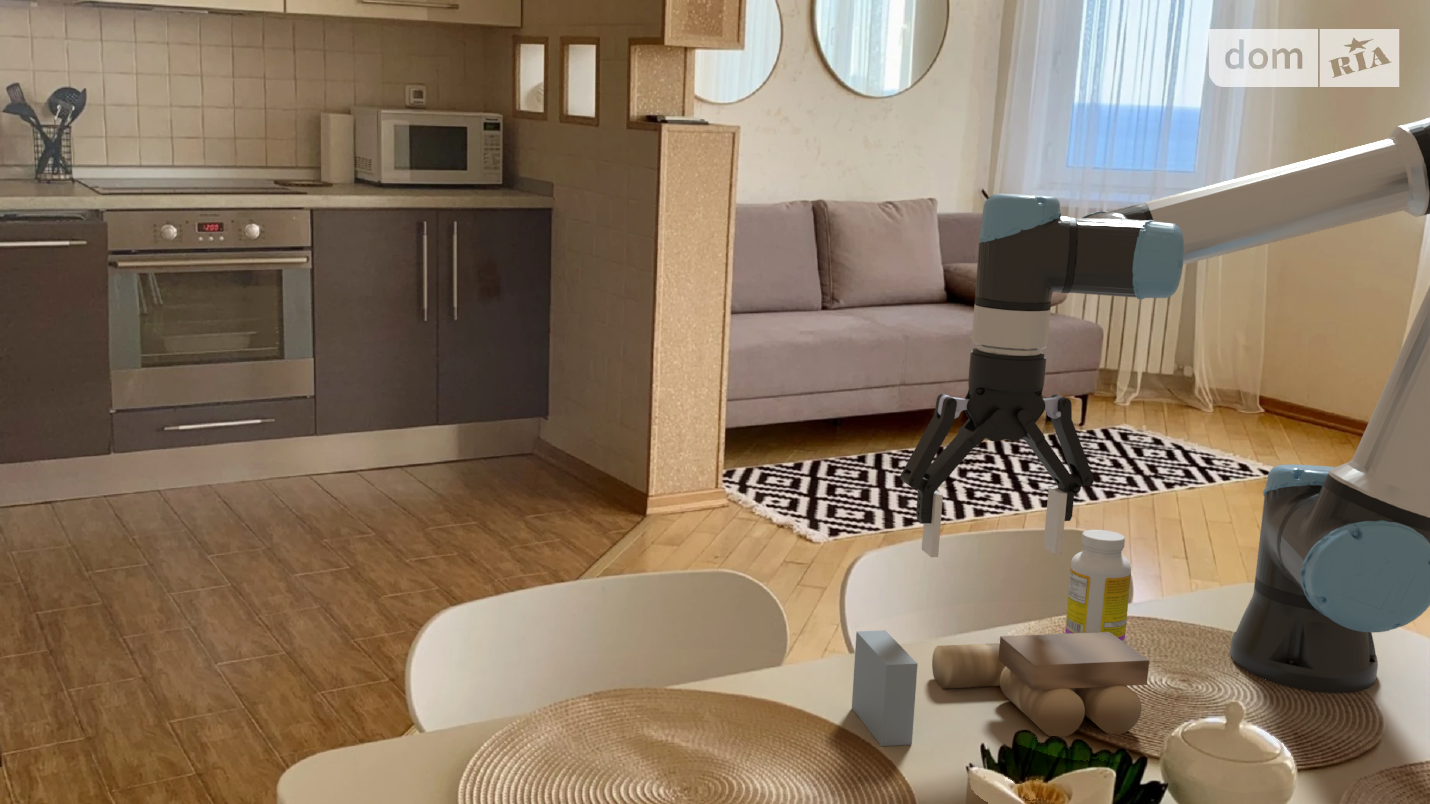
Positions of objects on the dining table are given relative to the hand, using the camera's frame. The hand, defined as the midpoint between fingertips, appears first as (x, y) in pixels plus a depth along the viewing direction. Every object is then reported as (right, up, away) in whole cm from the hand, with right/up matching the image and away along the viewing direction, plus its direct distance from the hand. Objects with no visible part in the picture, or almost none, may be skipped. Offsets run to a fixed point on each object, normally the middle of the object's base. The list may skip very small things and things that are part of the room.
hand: (991, 552), depth 145 cm
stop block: (-13, -16, -10) cm, 22 cm away
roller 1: (0, -14, +3) cm, 14 cm away
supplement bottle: (+15, -12, +16) cm, 25 cm away
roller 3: (+9, -16, -5) cm, 19 cm away
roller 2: (+4, -16, -6) cm, 17 cm away
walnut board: (+7, -11, -6) cm, 14 cm away
